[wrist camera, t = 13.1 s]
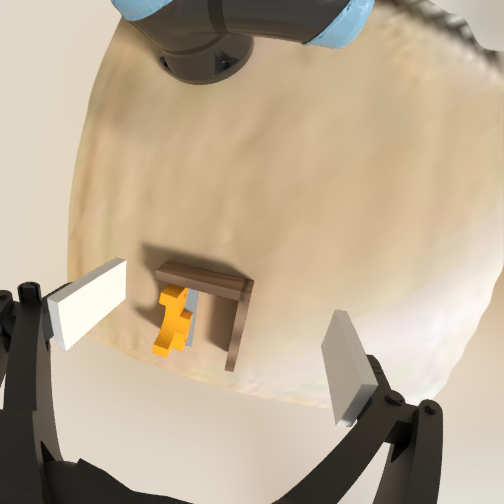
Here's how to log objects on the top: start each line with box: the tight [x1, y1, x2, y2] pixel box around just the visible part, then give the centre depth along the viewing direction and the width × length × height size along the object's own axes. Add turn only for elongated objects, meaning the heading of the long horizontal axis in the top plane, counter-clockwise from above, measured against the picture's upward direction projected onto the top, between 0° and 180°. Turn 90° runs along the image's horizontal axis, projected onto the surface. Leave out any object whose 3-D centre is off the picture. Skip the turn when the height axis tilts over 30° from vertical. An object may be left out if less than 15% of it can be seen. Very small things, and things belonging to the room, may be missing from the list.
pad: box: [184, 289, 198, 346], centre depth 47 cm, size 13×5×1 cm, turn 168°
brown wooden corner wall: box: [155, 261, 254, 372], centre depth 44 cm, size 15×15×5 cm
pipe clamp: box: [152, 284, 193, 358], centre depth 43 cm, size 12×4×6 cm, turn 163°
